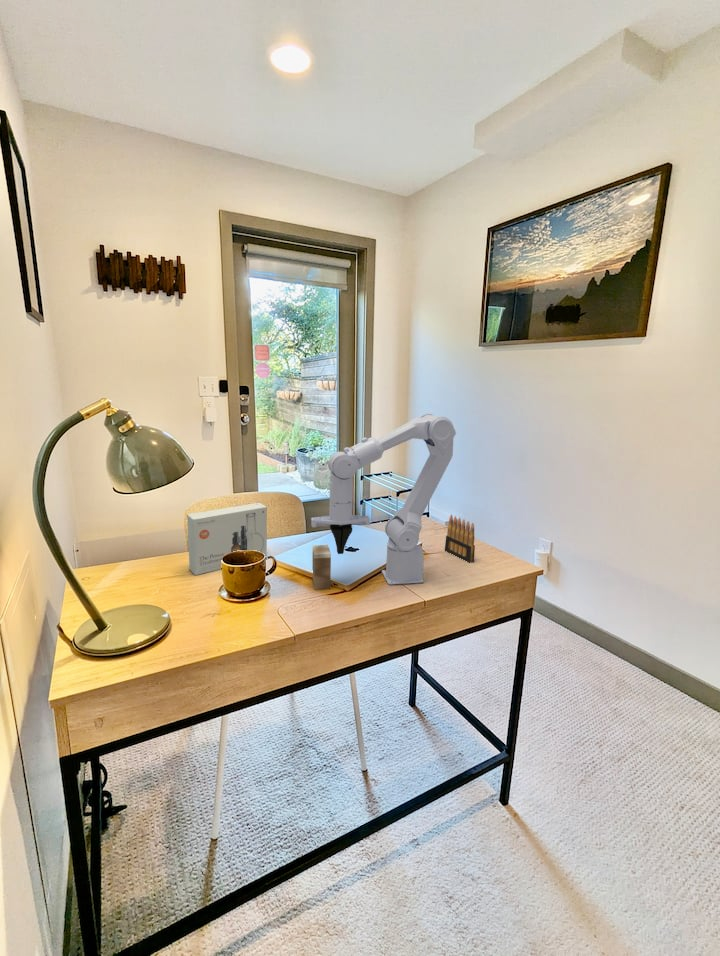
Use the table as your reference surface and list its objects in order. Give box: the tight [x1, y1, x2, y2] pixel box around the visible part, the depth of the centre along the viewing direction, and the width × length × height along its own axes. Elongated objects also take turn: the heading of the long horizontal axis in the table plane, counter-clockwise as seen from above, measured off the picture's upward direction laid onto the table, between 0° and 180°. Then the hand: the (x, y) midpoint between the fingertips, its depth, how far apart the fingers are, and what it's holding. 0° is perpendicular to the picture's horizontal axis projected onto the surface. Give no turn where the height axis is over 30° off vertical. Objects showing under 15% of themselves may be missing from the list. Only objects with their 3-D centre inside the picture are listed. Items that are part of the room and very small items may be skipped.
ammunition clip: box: [444, 514, 476, 564], centre depth 132 cm, size 11×2×12 cm, turn 32°
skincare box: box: [186, 502, 268, 576], centre depth 122 cm, size 21×6×16 cm, turn 129°
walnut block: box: [312, 544, 332, 591], centre depth 112 cm, size 4×6×10 cm, turn 11°
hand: (340, 552), depth 112 cm, fingers closed
